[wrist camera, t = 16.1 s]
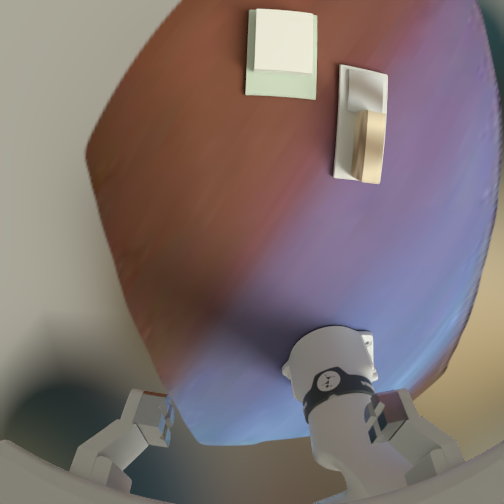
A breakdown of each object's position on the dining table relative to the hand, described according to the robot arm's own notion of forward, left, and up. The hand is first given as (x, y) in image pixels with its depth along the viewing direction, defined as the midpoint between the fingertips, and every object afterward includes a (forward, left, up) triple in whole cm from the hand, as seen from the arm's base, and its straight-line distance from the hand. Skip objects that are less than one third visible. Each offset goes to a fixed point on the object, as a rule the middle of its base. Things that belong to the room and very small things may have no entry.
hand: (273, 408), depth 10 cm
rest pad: (+4, -17, -31) cm, 36 cm away
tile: (+14, -10, -29) cm, 34 cm away
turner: (+4, -17, -31) cm, 35 cm away
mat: (+17, -12, -31) cm, 37 cm away
